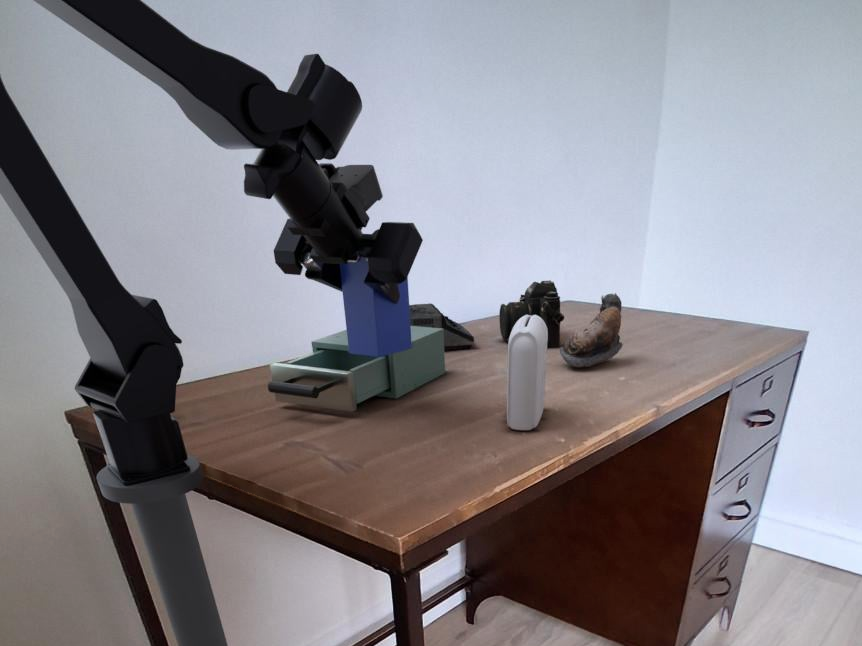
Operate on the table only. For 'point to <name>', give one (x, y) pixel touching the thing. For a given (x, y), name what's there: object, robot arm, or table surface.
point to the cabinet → (403, 359)
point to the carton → (373, 315)
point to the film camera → (535, 310)
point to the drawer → (330, 379)
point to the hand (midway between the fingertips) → (380, 298)
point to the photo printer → (526, 372)
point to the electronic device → (440, 325)
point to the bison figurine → (596, 336)
